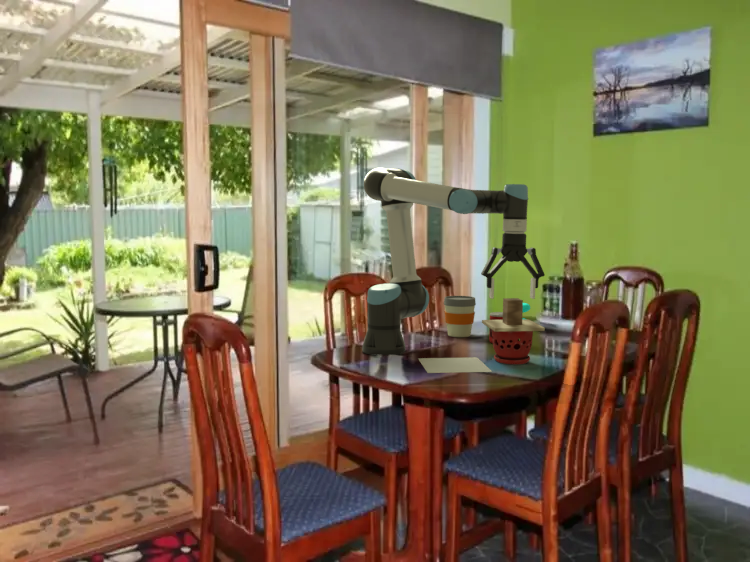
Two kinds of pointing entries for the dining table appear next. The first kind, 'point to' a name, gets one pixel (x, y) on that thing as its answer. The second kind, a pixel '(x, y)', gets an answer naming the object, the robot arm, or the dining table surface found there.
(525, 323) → the lid
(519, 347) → the plant pot
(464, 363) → the mat
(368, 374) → the dining table surface
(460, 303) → the reusable coffee cup
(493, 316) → the canned food
